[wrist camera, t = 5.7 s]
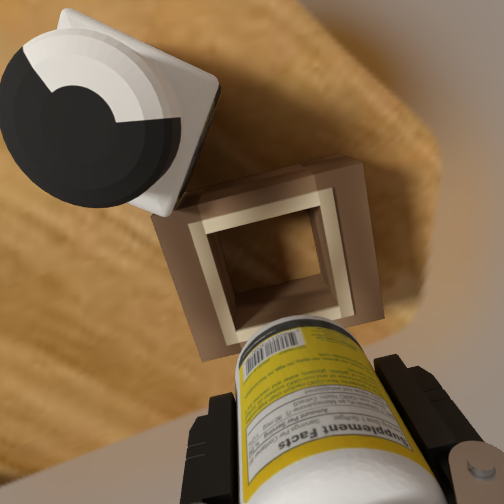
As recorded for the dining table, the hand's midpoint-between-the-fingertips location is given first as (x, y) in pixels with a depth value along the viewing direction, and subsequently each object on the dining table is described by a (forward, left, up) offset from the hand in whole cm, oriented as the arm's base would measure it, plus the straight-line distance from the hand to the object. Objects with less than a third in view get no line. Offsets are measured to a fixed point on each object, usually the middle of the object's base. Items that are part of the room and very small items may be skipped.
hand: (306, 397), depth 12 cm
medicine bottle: (-5, +10, -16) cm, 20 cm away
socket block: (0, 0, -16) cm, 16 cm away
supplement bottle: (0, 0, -2) cm, 2 cm away
